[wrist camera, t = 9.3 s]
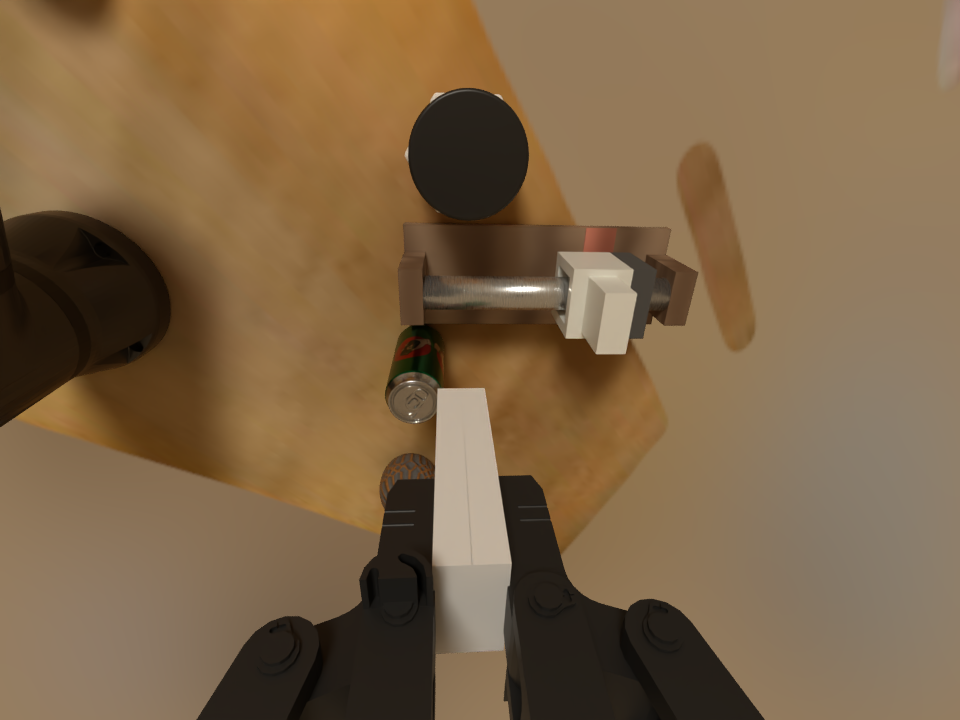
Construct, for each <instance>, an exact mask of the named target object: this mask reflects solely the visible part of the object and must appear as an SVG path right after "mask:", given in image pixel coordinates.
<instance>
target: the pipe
mask: <svg viewBox="0 0 960 720" xmlns="http://www.w3.org/2000/svg"><path fill="white" fill-rule="evenodd" d="M569 281H570V277H521V276H423V308H424V310H566V306H567V298H568V289H569ZM670 296H671V288H670V284H669V281H668V280H667V279H666V278H655V283H654V288H653V293H652V297H651V302H650V307H649V311H663V310H665V309H666V308H667V306H668V304H669V301H670Z"/></svg>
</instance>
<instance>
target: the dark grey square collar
mask: <svg viewBox="0 0 960 720" xmlns="http://www.w3.org/2000/svg"><path fill="white" fill-rule="evenodd" d="M610 253H611V254H613V255H614V256H615V257H617V258H618V259H619V260H621V261H622V262H624V263H625V264H626V265H628V266H629V267H630V268H632V269H633V270H634V271H633V277H632V282H631V287H630V288H631V289H632V290H634V291H635V292H636V293H637V298H636V303H635V308H634V313H633V318H632V323H631V329H630V334H629V339H637V338H640V339H641V338H643V336H644V331H645V326H646V321H647V317H648V312H649V307H650V302H651V297H652V293H653V288H654V283H655V278H656V274H657V270H656V269H655V268H653V267H652V266H650V265H648V264H647V263H645V262H644V261H642V260H641V259H639V258H638V257H636V256H635V255H633V254H631V253H623V252H610Z"/></svg>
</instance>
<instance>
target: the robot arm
mask: <svg viewBox="0 0 960 720" xmlns="http://www.w3.org/2000/svg"><path fill="white" fill-rule="evenodd" d="M169 320H170V301H169V296H168V292H167V289H166V286H165V284H164V281H163V279H162V277H161V275H160V273H159V272H158V270H157V268H156V267H155V265H154V264H153V263H152V261H151V260H150V259H149V258H148V256H147V255H146V254H145V253H144V252H143V251H142V250H141V249H140V248H139V247H138V246H137V245H136V244H135V243H134V242H132V241H131V240H130V239H129V238H127V237H126V236H125V235H123V234H122V233H121V232H119V231H118V230H116V229H114V228H112V227H111V226H109V225H107V224H105V223H103V222H101V221H99V220H96V219H94V218H91V217H88V216H85V215H82V214H78V213H73V212H67V211H42V212H37V213H31V214H26V215H21V216H17V217H13V218H11V219H8V220H6V221H4V222H3V218H2V213H1V209H0V427H2V426H3V425H4V424H6V423H7V422H9V421H10V420H12V419H13V418H15V417H16V416H18V415H19V414H21V413H22V412H24V411H25V410H27V409H28V408H29V407H31V406H32V405H34V404H35V403H37V402H38V401H40V400H41V399H43V398H44V397H46V396H47V395H49V394H50V393H52V392H53V391H54V390H56V389H57V388H59V387H60V386H62V385H63V384H65V383H66V382H68V381H69V380H71V379H73V378H74V377H78V376H82V375H87V374H91V373H95V372H100V371H104V370H109V369H113V368H117V367H121V366H124V365H126V364H129V363H131V362H133V361H135V360H137V359H138V358H140V357H141V356H143V355H144V354H146V353H147V352H148V351H150V350H151V349H152V348H154V347H155V346H156V345H157V344H158V343H159V342H160V341H161V339H162V338H163V336H164V334H165V333H166V330H167V328H168V325H169ZM359 581H360V589H361V597H362V601H361V602H360V603H359V605H357V606H356V607H355V608H353V609H352V610H351V611H349V612H347V613H345V614H343V615H341V616H339V617H337V618H334V619H331V620H328V621H325V622H322V623H320V624H317V625H314V626H313V624H312V623H311V622H310V621H308V620H306V619H304V618H302V617H299V616H298V617H297V616H294V617H293V616H292V617H291V616H287V617H286V616H285V617H282V618H279V619H276V620H273V621H271V622H269V623H267V624H266V625H264V626H263V627H261V628H260V629H259V630H257V631H256V632H255V633H254V634H253V635H252V636H251V637H250V639H249V640H248V641H247V642H246V643H245V644H244V646H243V647H242V649H241V651H240V652H239V654H238V655H237V657H236V658H235V660H234V662H233V663H232V665H231V666H230V668H229V669H228V671H227V673H226V674H225V676H224V678H223V679H222V681H221V682H220V684H219V685H218V687H217V688H216V690H215V692H214V693H213V695H212V696H211V698H210V700H209V701H208V703H207V704H206V706H205V707H204V709H203V710H202V712H201V714H200V715H199V717H198V719H197V720H435V654H445V653H464V652H483V651H501V650H502V651H503V650H504V641H505V649H506V658H507V670H506V680H505V691H504V701H508V705H509V714H510V720H764V718H763V717H762V715H761V714H760V713H759V711H758V710H757V709H756V707H755V706H754V705H753V703H752V702H751V701H750V700H749V698H748V697H747V696H746V694H745V693H744V691H743V690H742V689H741V688H740V686H739V685H738V684H737V682H736V681H735V680H734V678H733V677H732V676H731V674H730V673H729V672H728V670H727V669H726V668H725V666H724V665H723V664H722V662H721V661H720V660H719V658H718V657H717V656H716V654H715V653H714V652H713V650H712V649H711V648H710V646H709V645H708V644H707V642H706V641H705V640H704V638H703V637H702V636H701V634H700V633H699V632H698V630H697V629H696V628H695V626H694V625H693V624H692V623H691V621H690V620H689V619H688V618H687V617H686V616H685V615H684V614H683V613H682V612H681V611H680V610H678V609H676V608H675V607H673V606H671V605H670V604H668V603H666V602H663V601H659V600H655V599H644V600H639V601H637V602H636V603H634V604H632V605H631V606H630V607H629V609H628V611H626V610H622V609H619V608H615V607H612V606H608V605H604V604H601V603H598V602H596V601H593V600H591V599H589V598H587V597H586V596H584V595H583V594H581V593H580V592H579V591H578V590H577V589H576V588H575V587H574V586H573V585H572V583H571V582H570V580H569V579H568V577H567V575H566V572H565V570H564V566H563V563H562V559H561V555H560V551H559V548H558V544H557V540H556V537H555V533H554V530H553V526H552V522H551V521H550V515H549V511H548V508H547V504H546V500H545V497H544V493H543V489H542V488H541V487H540V485H539V484H538V483H537V482H536V481H535V480H534V478H533V477H532V476H531V475H524V476H498V472H497V465H496V459H495V452H494V446H493V439H492V433H491V426H490V420H489V413H488V407H487V400H486V394H485V388H443V389H438V393H437V425H436V458H435V479H398V480H397V481H396V483H395V484H394V485H393V487H392V488H391V490H390V491H389V492H388V494H387V499H386V505H385V514H384V518H383V526H382V530H381V536H380V542H379V549H378V555H377V556H376V557H374V558H373V559H372V560H371V561H370V562H369V563H368V564H367V565H366V567H364V570H363V572H362V575H361V577H360V580H359Z"/></svg>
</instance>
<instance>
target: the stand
mask: <svg viewBox="0 0 960 720" xmlns="http://www.w3.org/2000/svg"><path fill="white" fill-rule="evenodd" d="M403 229H404V250H405V251H404V254H403V257H402V260H401V262H400V265H399V268H398V280H399V299H400V317H401V325H424V324H557V323H556V321H555V319H554V318H553V316H552V314H551V310H424V308H423V276H521V277H555V272H556V263H557V253H558V252H623V253H631V254H633V255H635V256H636V257H638V258H639V259H641V260H642V261H644V262H645V263H647V264H648V265H650V266H652V267H653V268H655V269H656V270H657V274H656V278H666V279H667V280H668V281H669V284H670V288H671V296H670V301H669V304H668V306H667V308H666V309H665V310H663V311H649V312H648V317H647V321H646V324H651V322H652V317H653V316H654V317H655V318H656V319H657V320H658V321H659V322H661V323H662V324H663V325H665V326H666V325H669V326H670V325H671V326H673V325H674V326H675V325H678V326H683V325H685V323H686V319H687V315H688V311H689V307H690V303H691V299H692V295H693V291H694V287H695V283H696V279H697V276H698V272H696V271H695V270H693V269H691V268H689V267H687V266H686V265H684V264H682V263H680V262H678V261H676V260H675V259H673V258H671V257H669V256H667V255H666V252H667V247H668V243H669V238H670V233H671V229H670V228H667V227H619V226H617V227H616V226H615V227H614V226H562V225H506V224H449V223H404V224H403Z"/></svg>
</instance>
